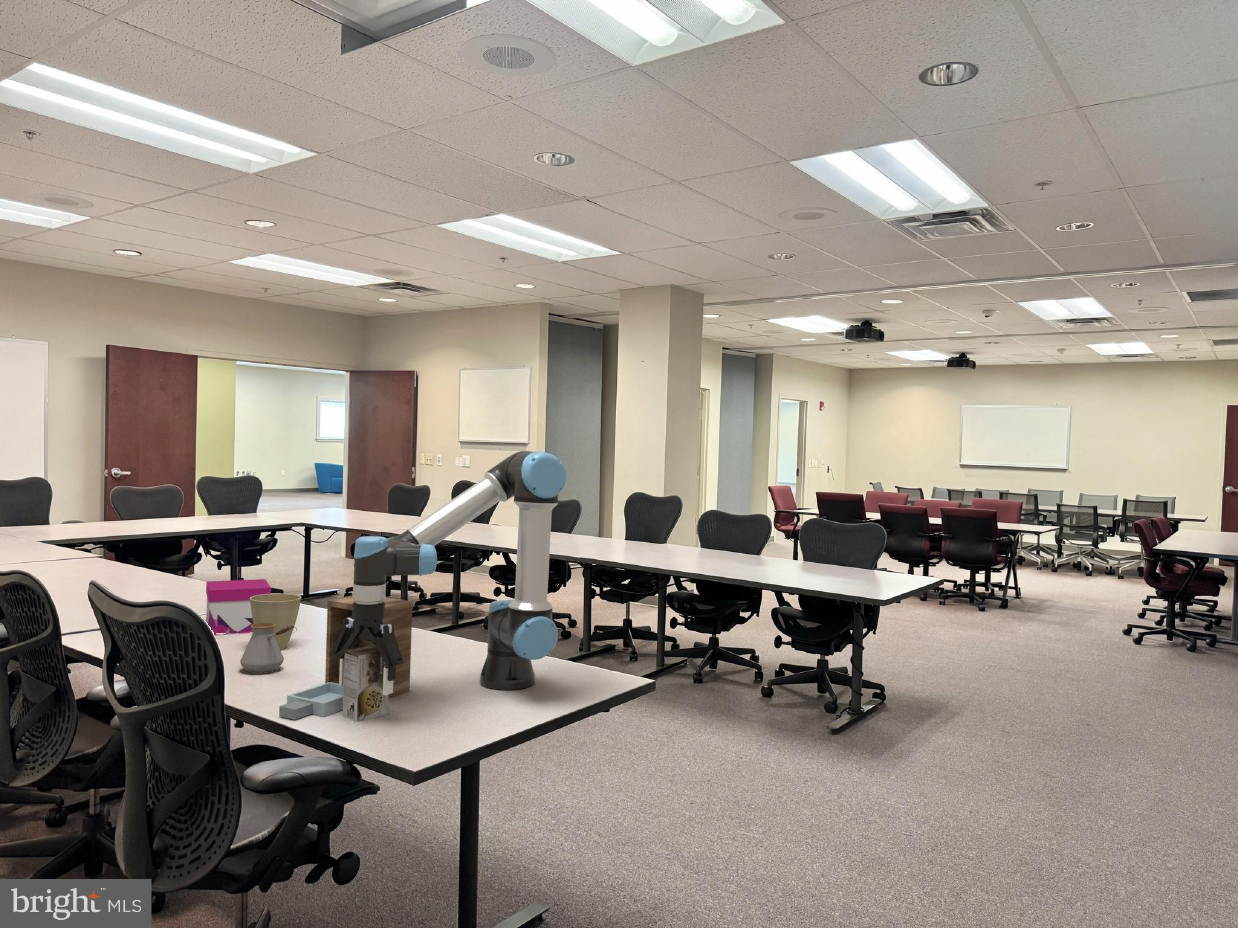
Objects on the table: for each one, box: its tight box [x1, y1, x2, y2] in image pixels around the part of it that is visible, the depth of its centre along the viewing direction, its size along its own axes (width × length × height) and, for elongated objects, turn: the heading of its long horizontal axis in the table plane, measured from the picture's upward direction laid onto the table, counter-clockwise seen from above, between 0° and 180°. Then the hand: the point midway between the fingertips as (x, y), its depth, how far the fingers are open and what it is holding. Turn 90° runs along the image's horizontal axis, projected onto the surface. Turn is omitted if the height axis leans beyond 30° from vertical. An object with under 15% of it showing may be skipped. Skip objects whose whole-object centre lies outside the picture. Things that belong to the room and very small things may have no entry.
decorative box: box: [205, 578, 272, 636], centre depth 291 cm, size 19×19×15 cm
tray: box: [278, 682, 343, 721], centre depth 208 cm, size 12×20×3 cm, turn 154°
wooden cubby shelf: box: [324, 595, 413, 699], centre depth 223 cm, size 18×12×24 cm, turn 64°
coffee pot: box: [239, 623, 298, 675], centre depth 237 cm, size 21×12×15 cm, turn 52°
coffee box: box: [342, 645, 390, 722], centre depth 204 cm, size 9×6×16 cm
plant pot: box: [250, 593, 302, 651], centre depth 266 cm, size 15×15×16 cm
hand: (365, 689), depth 204 cm, fingers open, 13 cm apart
